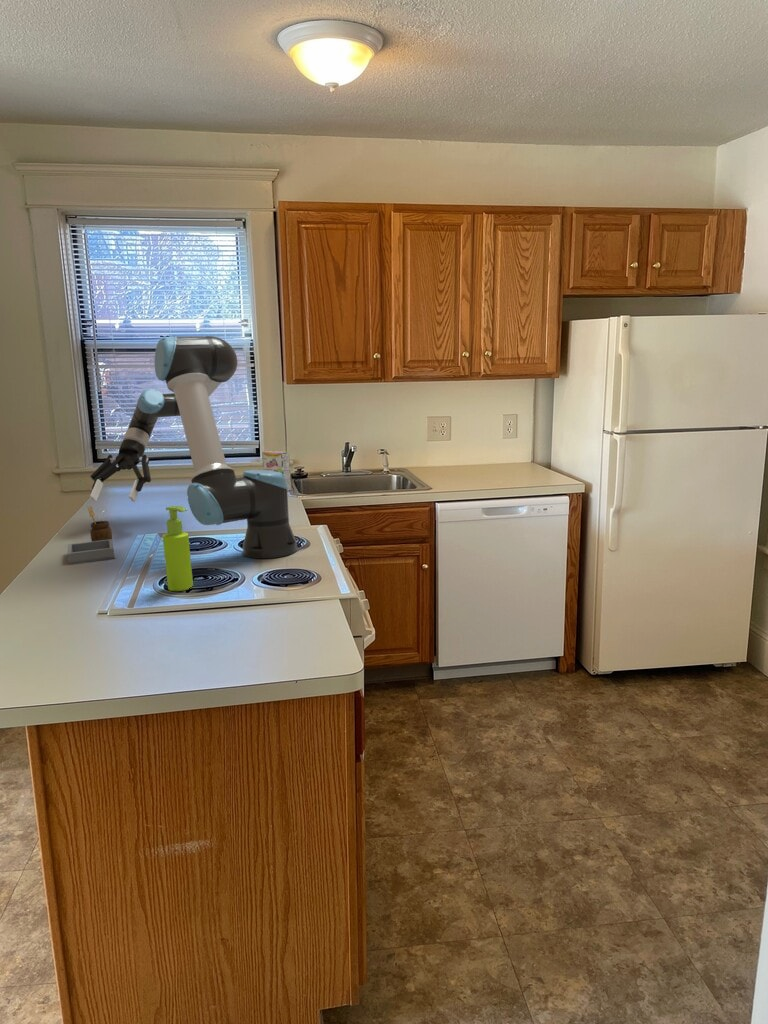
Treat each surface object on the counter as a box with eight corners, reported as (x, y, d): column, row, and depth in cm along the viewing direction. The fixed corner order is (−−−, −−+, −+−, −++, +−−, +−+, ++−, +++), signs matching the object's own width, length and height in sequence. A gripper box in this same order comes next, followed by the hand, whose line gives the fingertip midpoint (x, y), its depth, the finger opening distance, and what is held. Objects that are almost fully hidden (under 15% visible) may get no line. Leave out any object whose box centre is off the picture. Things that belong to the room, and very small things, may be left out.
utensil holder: (103, 548, 211) (98, 508, 209) (86, 546, 214) (81, 508, 211) (117, 543, 217) (112, 504, 214) (100, 541, 219) (96, 504, 217)
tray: (114, 558, 199) (113, 548, 199) (68, 564, 195) (67, 553, 194) (113, 548, 210) (112, 539, 209) (69, 554, 206) (68, 544, 205)
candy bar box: (263, 490, 298) (261, 452, 295) (271, 488, 302) (269, 450, 299) (284, 492, 292) (281, 453, 289) (292, 490, 296) (289, 451, 293)
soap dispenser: (182, 593, 167) (174, 510, 162) (162, 589, 170) (154, 507, 166) (201, 586, 171) (193, 505, 167) (181, 582, 175) (173, 503, 171)
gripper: (173, 451, 232) (153, 506, 221) (106, 452, 238) (83, 504, 227) (163, 437, 226) (142, 492, 215) (94, 438, 232) (70, 491, 221)
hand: (112, 499), depth 221 cm, fingers open, 13 cm apart
